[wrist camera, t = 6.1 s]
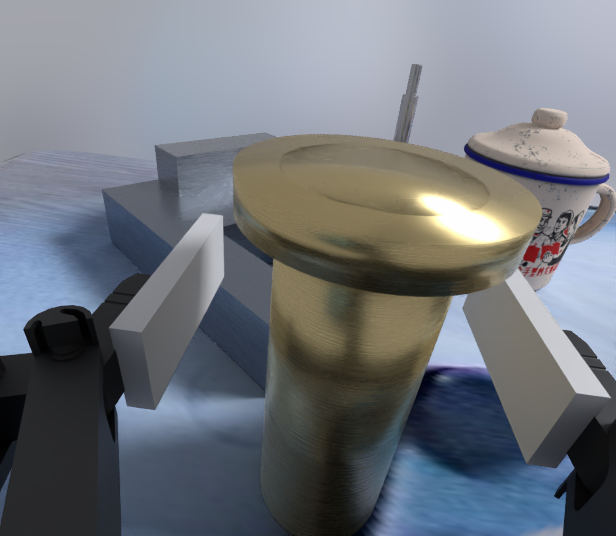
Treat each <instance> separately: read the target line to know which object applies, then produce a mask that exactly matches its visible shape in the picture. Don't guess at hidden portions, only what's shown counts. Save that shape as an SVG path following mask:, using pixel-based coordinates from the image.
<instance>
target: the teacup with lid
mask: <svg viewBox="0 0 616 536" xmlns="http://www.w3.org/2000/svg"><path fill="white" fill-rule="evenodd" d="M567 119H568V116H567V113H566V112H563V111H560V110H555V109H549V108H539V109H537V110H536V111H535V112H534V114H533V116H532V123H517V124H513V125H510V126H508V127H506V128H503V129H501V130H498V131H494V132H485V133H479V134H476V135H474V136H473V137H472V138H470V139H469V141H468V143H467V144H466V145H465V147H464V151H465V153H466V155H465V158H466V159H469V160H472V161H474V162H477V163H480V164H482V165H485V166H487V167H490V168H492V169H494V170H496V171H498V172H500V173H503V174H504V175H506V176H508V177H510V178H512V179H514V180H515V181H517V182H518V183H520V184H521V185H523V186H524V187H525V188H527V189H528V190H529V191H530V192H531V193H532V194H533V195H534V196H535V197H536V198H537V199H538V201H539V203H540V205H541V207H542V217H541V220H540V222H539V224H538V226H537V228H536V231H535V233H534V235H533V237H532V239H531V241H530V243H529V246H528V248H527V250H526V252H525V254H524V256H523V259H522V261H521V263H520V265H519V267H518V269H519V271H520V272H521V273H522V275H523V276H524V278H525V279H526V280H527V282H528V283H529V285H530V286H531V287H532V289H533V290H534V291H535V290H538V289H541V288H543V287H544V286H546V285H547V284H548V283H549V281H550V280H551V278H552V276H553V274H554V272H555V270H556V268H557V266H558V264H559V263H560V261H561V259H562V257H563V255H564V253H565V251H566V249H567V247H568V245H569V244H576V243H579V242H582V241H585V240H587V239H589V238H590V237H592V236H594V235H595V234H596V233H598V232H599V231H600V230H601V229H602V228H603V227H604V226H605V225H606V224H607V223H608V222H609V221H610V219H611V218H612V216H613V215H614V213H615V211H616V193H615V191H614V190H613V189H612V188H611V187H610V186H608V185H606V184H604V182H606V181H607V180H608V179H609V172H610V166H609V163H608V162H607V161H606V160H605V159H604V158H603V157H601V156H599V155H597V154H595V153H594V152H592V151H590V150H589V149H588V148H587V147H586V146H585V145H584V144H583V142H582V141H581V140H580V139H579V138H578V136H576V135H575V134H574V133H572V132H570V131H568V130H565V129H562V127H563V126H564V125H565V123H566V121H567ZM596 193H599V194H600V197H601V201H600V204H599V207H598V209H597V210H596V212H595V213H594V214H593V216H592V217H591V218H590V219H589V220H588V221H587V222H586V223H584V224H583V225H582V226H580V227H579V228H578V226H579V224H580V223H581V221H582V219H583V217H584V215H585V213H586V211H587V209H588V207H589V205H590V203H591V201H592V200H593V198H594V196H595V194H596Z"/></svg>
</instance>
